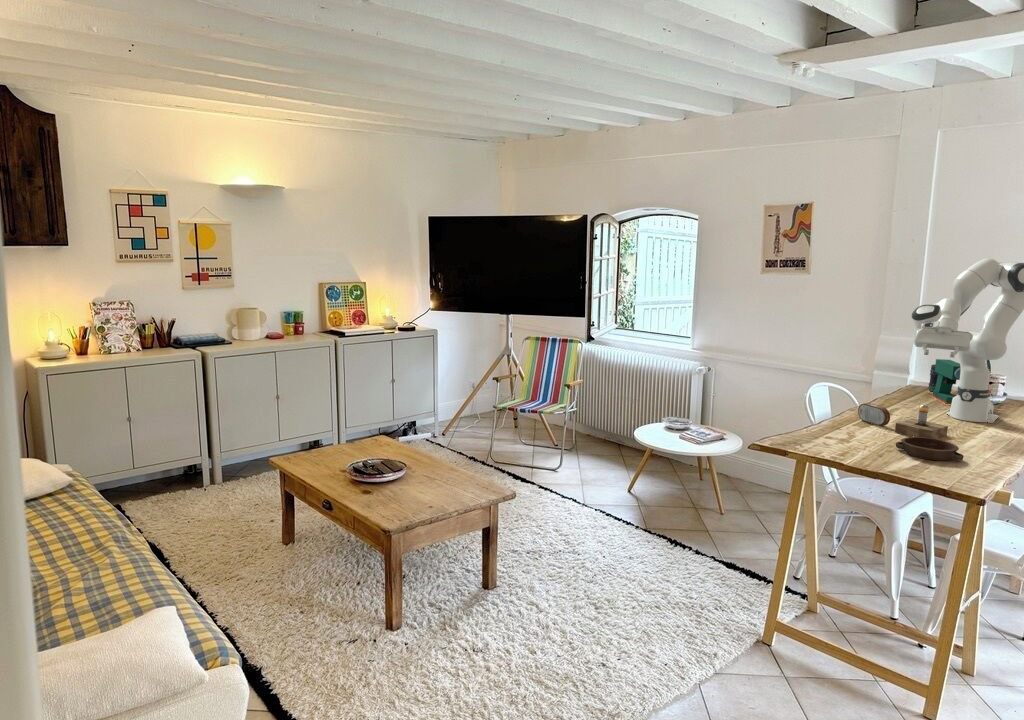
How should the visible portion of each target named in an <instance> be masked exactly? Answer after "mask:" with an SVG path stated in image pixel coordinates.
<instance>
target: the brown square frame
mask: <svg viewBox="0 0 1024 720" xmlns="http://www.w3.org/2000/svg"><path fill="white" fill-rule="evenodd" d="M948 427H949V426H948V425H943V424H938V423H935V422H928V421H926V427H924V426H919V425H918V419H915V418H911V419H906V420H902V421H899V422H896V423H895V429H894V433H895V432H897V433H896V434H899V433H901V434H900V435H903V434H906V435H905V436H908V435H910V436H909V437H912V436H914V437H925V438H933V439H938V440H939V439H941V438H944V437H946V436H947V435H948Z"/></svg>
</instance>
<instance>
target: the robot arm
mask: <svg viewBox="0 0 1024 720" xmlns="http://www.w3.org/2000/svg"><path fill="white" fill-rule="evenodd" d="M988 286H993V287H999V288H1001V292H1000V294H999V296H998V297H997V298H996V299H995V301H994V302H993V304H992V305H990V307H989V309H988V310H987V311H986V313H985V314H984V315H983V319H982V321H983V327H982V329H981V331H980V332H976V331H972V330H971V331H961V330H958V328H959V321H960V319H961V316H963V314H964V313H966V312H967V311H968V309H969V308H970V307H971V306H972V304H973V302H974V301H975V299H976V298H977V296H979V294H980V293H981V292H982V291H984V290H985V289H986V288H987V287H988ZM1023 312H1024V262H1013V261H1009V262H998V261H997V260H996V259H994V258H991V257H986V258H982V259H980V260H979V261H977V262H975V263H973V264H972V265H970V266H969V267H968V268H966V269H965V270H963V271H962V272H961V273H960V274H959V275H958V276H956V278H955V279H954V281H953V283H952V298H949V297H945V298H943V299H941V300H940V301H938V302H935V303H932V304H921V305H919V306H917V307H916V308H915V309H914V310H913V311H912V313H911V319H912V321H913V322H914V325H915V328H916V330H917V333H916V335H915V337H914V340H913V342H914V346H915V347H916V348H922V350H923V355H924V356H929V353H930V350H929V349H937V350H948V351H951V352H950V353H949V357H950V358H952V359H955V356H956V355H958V359H959V363H960V368H961V372H960V380H958V381H959V382H958V386H957V389H956V395H954V396H955V397H953V400H952V404H951V405H950V409H949V411H946V415H947V414H948V415H947V416H950V417H951V418H952V419H957V420H960V421H966V422H972V423H973V422H975V423H987V422H988V423H989V424H993V423H995V420H996V419H997V418H998V417H1000V416H999V415H997V414H994V404H993V402H992V400H991V399H990V394H992V389H991V388H989V385H990V379H991V370H990V369H989V367H988V366H987V363H986V361H993V360H994V361H996V360H999V359H1001V358H1003V357H1004V355H1006V353H1007V348H1008V347H1007V343H1006V341H1007V340H1006V339H1007V337H1008V333H1009V332H1010V330H1011V328H1012V326H1013V325H1014V324H1015V323H1016V321H1017V320H1018V318H1019V317H1020V316H1021V315H1022V313H1023ZM998 419H999V418H998ZM998 419H997V420H998ZM997 420H996V421H997Z"/></svg>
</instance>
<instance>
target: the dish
mask: <svg viewBox="0 0 1024 720" xmlns="http://www.w3.org/2000/svg"><path fill="white" fill-rule="evenodd" d="M895 447H896V448H897V449H899V450H903V451H905V452H906V453H907V454H909V455H910V456H912V457H913V456H914V457H915V456H916V458H919V459H923V458H924V459H923V460H928V459H929V461H936V460H937V461H938V462H941V461H943V462H944V461H949V460H955V461H963V459H964V457H965V456H964V455H963V454H961V453H960V452H958V451H959V450H960V448H959V446H957V445H956V444H954V443H952V442H949V441H946V440H941V439H939V438H938V439H933V438H925V437H912V436H909V437H905V438H901V439H900V441H897V442H895Z"/></svg>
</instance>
